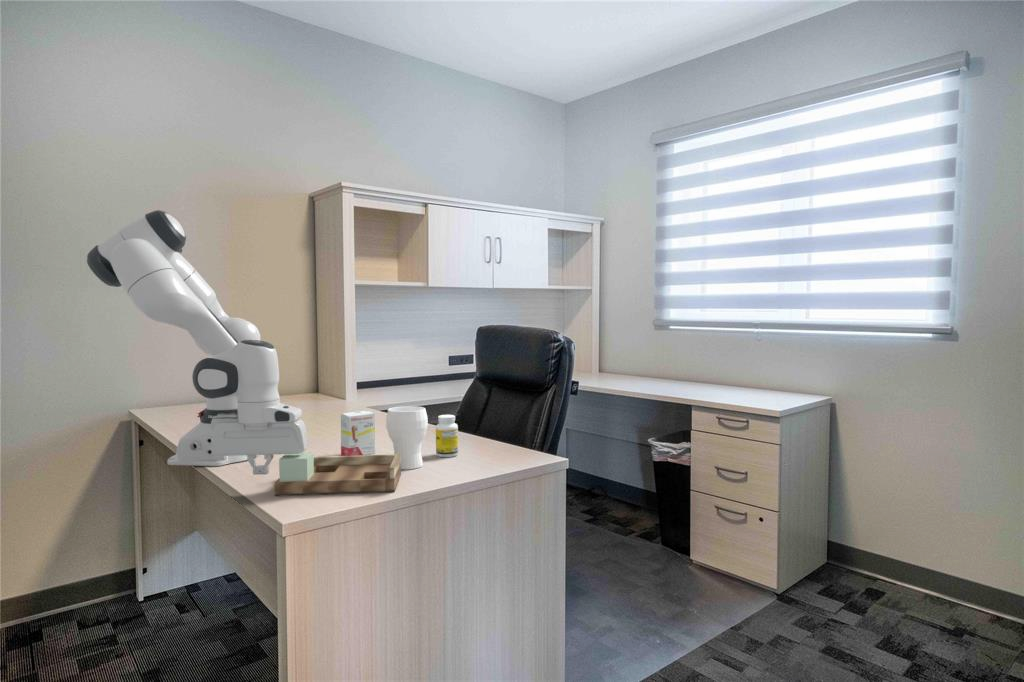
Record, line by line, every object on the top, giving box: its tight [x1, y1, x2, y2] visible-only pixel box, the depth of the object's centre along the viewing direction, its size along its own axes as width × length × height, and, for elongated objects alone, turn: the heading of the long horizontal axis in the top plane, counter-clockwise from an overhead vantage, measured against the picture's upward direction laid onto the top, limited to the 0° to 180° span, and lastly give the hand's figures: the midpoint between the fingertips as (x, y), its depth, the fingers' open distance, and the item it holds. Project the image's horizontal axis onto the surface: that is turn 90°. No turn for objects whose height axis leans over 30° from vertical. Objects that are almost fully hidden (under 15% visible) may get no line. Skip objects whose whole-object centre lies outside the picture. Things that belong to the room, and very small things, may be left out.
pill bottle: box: [435, 414, 459, 458], centre depth 172 cm, size 6×6×11 cm
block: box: [278, 452, 315, 482], centre depth 138 cm, size 6×6×5 cm
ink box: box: [340, 410, 377, 456], centre depth 173 cm, size 9×5×12 cm, turn 131°
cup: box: [385, 405, 429, 470], centre depth 160 cm, size 11×11×15 cm
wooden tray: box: [273, 453, 402, 497], centre depth 143 cm, size 26×15×6 cm, turn 95°
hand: (261, 474), depth 138 cm, fingers closed
